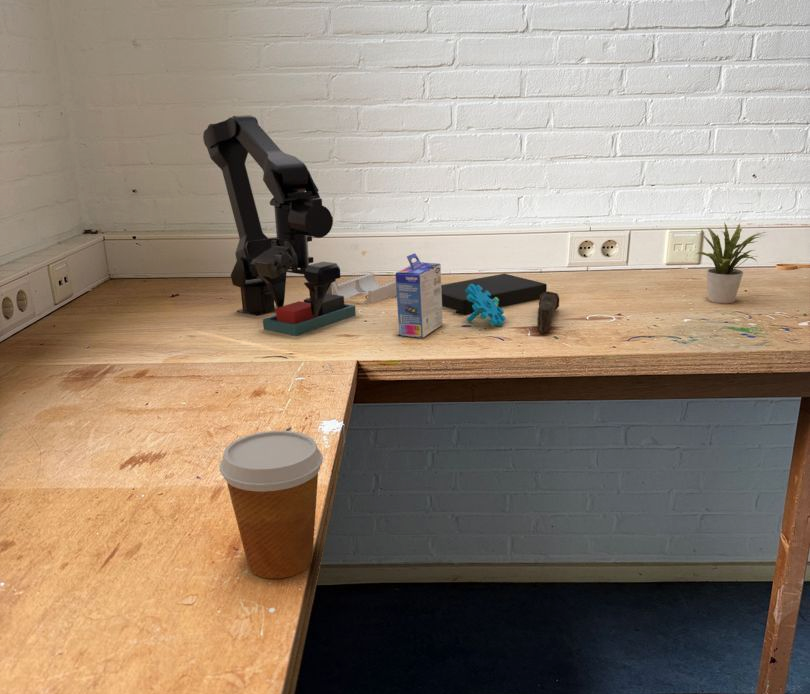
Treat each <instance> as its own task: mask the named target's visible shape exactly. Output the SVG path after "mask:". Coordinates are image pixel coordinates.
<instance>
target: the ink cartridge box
mask: <svg viewBox="0 0 810 694" xmlns="http://www.w3.org/2000/svg"><path fill="white" fill-rule="evenodd" d="M406 259H407V260H408V263H409V266H407V267H405V268H403V269H401V270H399V271H397V272H395V281H396V290H397V296H396V302H397V303H396V304H397V321H398V332H399V333H398V335H399V336H402V337H410V338H420V339H421V338H422V339H423V338H425V337H426V336H428V335H429V334H430V333H432V332H433V331H436V330H437V329H438V328H440V327H442V326H443V324H444V322H443V306H442V289H441V285H442V268H441V267H442V266H441V264H440V263H435V262H422V261H421V260H420V259H419V257H418V256H417V254H416V253H415V252H414V253H412V254H410V255H407V256H406ZM413 259H415V260H416V261H412V260H413Z"/></svg>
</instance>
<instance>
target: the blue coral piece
mask: <svg viewBox="0 0 810 694" xmlns="http://www.w3.org/2000/svg"><path fill="white" fill-rule="evenodd" d="M481 290H482V287H481V286H479V285H477V286H476V287H475V285H474V284H470V285H469V286H468V288H467V289H466V290H465V292H466V293H467V294H469V295H468V296H467V300H468V301H470V302H473V303H474V304H473V305H472V307H473V309H474V310H475V311H474V312H472V313H470V315H469V316H467V318H466V321H467V322H468V323H472V322H473V321H474V320H475V319H477V317H481V319H483V320H484V321H485V320H486V319H488V318H489V319H488V323H489V324H491V325H492V326H495V325H497V327H501V326H502V325H503V324H504V321H505V320H507V319H506V317H505V316H504V313H505V311H504V309H503V308H502V307H498V304H499V303H498V301H499V299H498V298H497V297H495V298H494V299H490V298H489V296H491V294H490V293H489V292H488V291H487V290H486V291H485V292H484V293H482V292H481Z"/></svg>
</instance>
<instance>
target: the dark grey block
mask: <svg viewBox="0 0 810 694" xmlns="http://www.w3.org/2000/svg"><path fill="white" fill-rule="evenodd" d="M303 302H306V303H310V297H309V298H304V299H303ZM344 304H345V299H344V296H339V295H333V293H332V294H327V293H326V295H325V297H324V300H323V302H322V305H321V307H320V310H319V312H318V316H321V315H324V314H327V313H330V312H333V311H336V310H339V309H342V308H344Z"/></svg>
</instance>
